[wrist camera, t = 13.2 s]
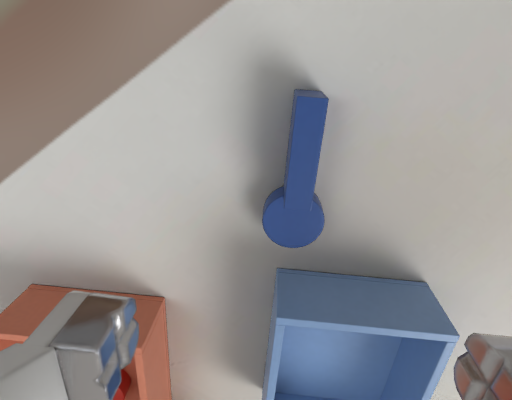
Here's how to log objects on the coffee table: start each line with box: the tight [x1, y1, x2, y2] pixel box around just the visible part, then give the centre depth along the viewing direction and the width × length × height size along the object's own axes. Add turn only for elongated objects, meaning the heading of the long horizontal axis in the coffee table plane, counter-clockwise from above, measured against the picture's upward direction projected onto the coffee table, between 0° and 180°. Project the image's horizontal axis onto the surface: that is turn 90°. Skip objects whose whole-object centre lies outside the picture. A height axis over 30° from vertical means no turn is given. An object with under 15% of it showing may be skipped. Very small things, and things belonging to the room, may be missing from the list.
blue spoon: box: [262, 89, 329, 248], centre depth 20 cm, size 10×4×3 cm, turn 176°
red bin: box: [0, 284, 172, 400], centre depth 27 cm, size 14×11×5 cm
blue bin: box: [262, 268, 460, 400], centre depth 25 cm, size 14×11×5 cm
